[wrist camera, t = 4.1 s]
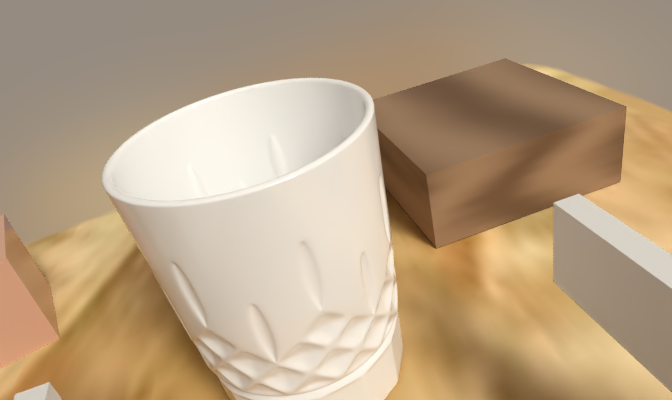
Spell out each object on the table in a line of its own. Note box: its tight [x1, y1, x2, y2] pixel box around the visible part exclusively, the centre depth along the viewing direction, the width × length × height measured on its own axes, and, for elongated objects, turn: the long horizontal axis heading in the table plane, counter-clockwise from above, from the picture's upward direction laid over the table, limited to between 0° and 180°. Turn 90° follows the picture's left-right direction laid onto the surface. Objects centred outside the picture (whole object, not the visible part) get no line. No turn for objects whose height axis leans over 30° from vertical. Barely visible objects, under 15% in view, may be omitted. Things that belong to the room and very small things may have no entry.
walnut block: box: [373, 59, 626, 248], centre depth 28 cm, size 10×10×4 cm
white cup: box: [102, 78, 403, 400], centre depth 18 cm, size 8×8×10 cm
